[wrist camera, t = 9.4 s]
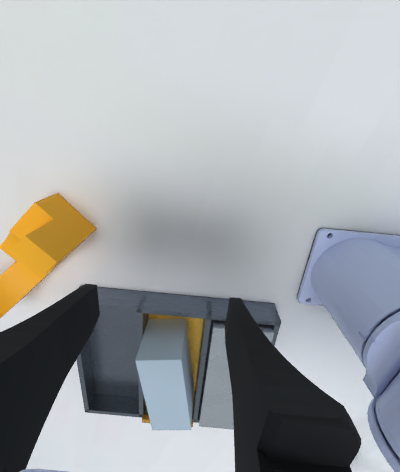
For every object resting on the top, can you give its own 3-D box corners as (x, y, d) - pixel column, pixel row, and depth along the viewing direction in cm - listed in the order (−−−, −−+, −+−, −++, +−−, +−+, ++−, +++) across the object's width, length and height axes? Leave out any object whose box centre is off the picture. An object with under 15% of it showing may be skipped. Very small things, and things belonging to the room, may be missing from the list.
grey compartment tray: (274, 303, 25) (283, 328, 22) (247, 405, 32) (251, 435, 28) (80, 285, 25) (62, 307, 22) (94, 391, 31) (82, 419, 28)
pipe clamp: (59, 192, 21) (1, 216, 15) (97, 227, 22) (57, 262, 16) (-11, 268, 25) (-81, 311, 19) (25, 295, 26) (-29, 344, 20)
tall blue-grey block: (186, 318, 25) (181, 359, 21) (193, 382, 29) (191, 430, 25) (148, 319, 25) (135, 360, 21) (161, 383, 29) (152, 430, 25)
